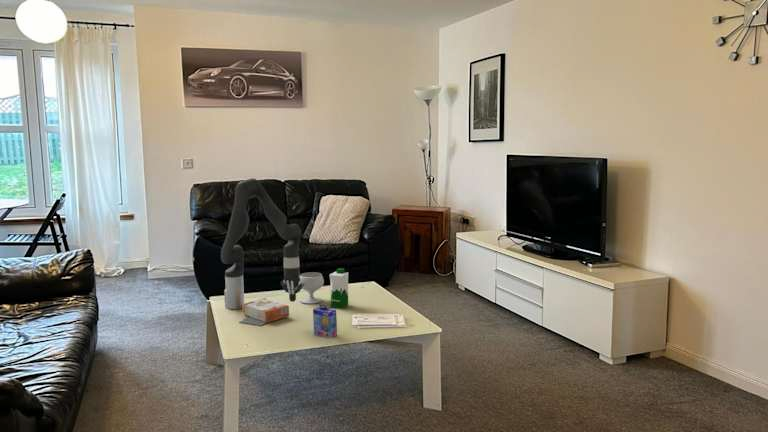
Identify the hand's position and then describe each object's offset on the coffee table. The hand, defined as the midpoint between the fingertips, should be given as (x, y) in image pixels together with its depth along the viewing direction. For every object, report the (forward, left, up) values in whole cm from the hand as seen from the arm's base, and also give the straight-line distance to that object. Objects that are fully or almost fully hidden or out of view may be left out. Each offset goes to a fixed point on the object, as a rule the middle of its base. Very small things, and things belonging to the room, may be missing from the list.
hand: (292, 301), depth 275 cm
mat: (-19, 0, -11) cm, 22 cm away
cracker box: (-9, +1, -8) cm, 12 cm away
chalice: (-12, +37, -12) cm, 41 cm away
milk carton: (+7, +34, -12) cm, 37 cm away
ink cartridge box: (+22, -8, -12) cm, 26 cm away
